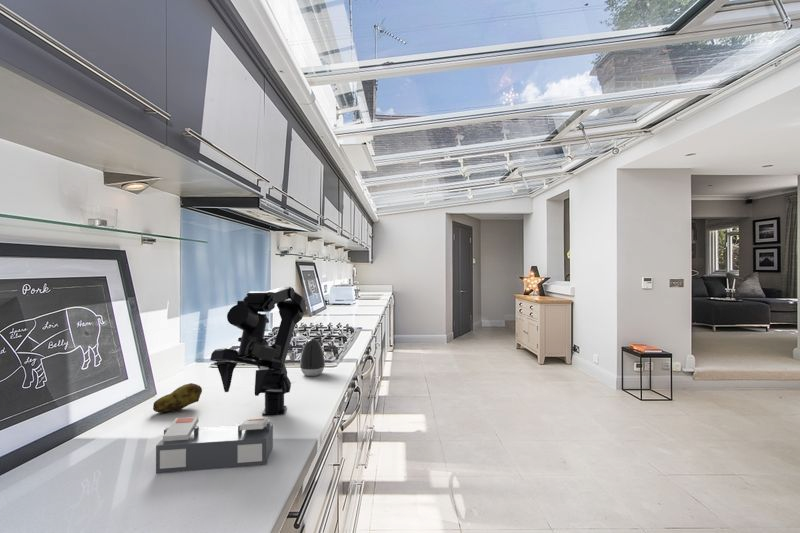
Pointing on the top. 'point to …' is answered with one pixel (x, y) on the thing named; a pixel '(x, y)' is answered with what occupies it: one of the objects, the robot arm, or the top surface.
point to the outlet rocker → (180, 429)
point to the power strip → (215, 449)
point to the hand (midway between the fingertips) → (242, 393)
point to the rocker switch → (253, 424)
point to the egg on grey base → (312, 358)
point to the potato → (178, 398)
